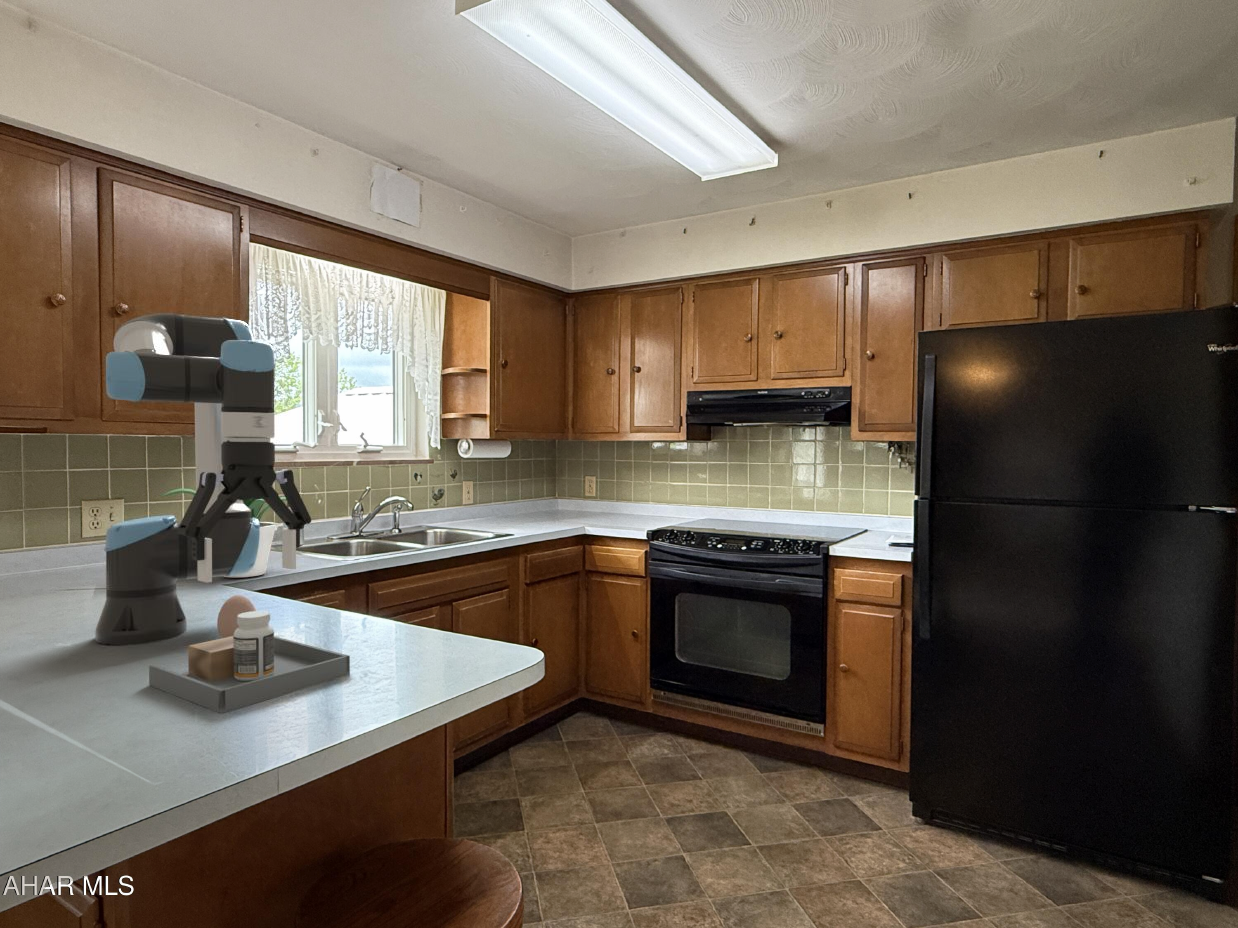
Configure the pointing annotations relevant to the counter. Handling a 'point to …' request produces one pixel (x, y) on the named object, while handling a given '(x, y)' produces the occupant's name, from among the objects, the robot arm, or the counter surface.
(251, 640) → the pill bottle
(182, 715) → the counter surface
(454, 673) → the counter surface
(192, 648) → the brown rectangular block
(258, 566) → the potted plant
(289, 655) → the grey rimmed tray
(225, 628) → the egg
